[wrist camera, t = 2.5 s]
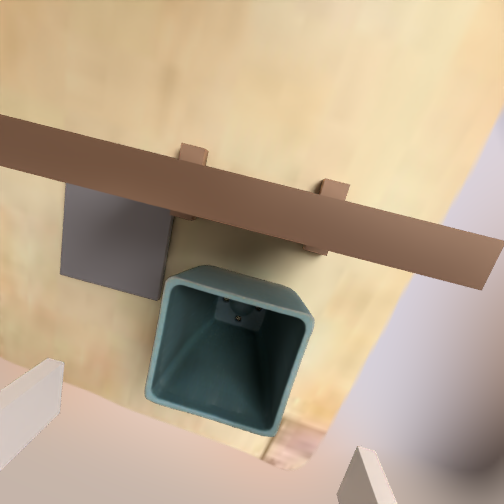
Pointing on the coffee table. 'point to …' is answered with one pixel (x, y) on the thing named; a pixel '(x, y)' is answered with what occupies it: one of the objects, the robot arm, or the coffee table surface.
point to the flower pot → (228, 348)
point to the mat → (115, 241)
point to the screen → (250, 202)
